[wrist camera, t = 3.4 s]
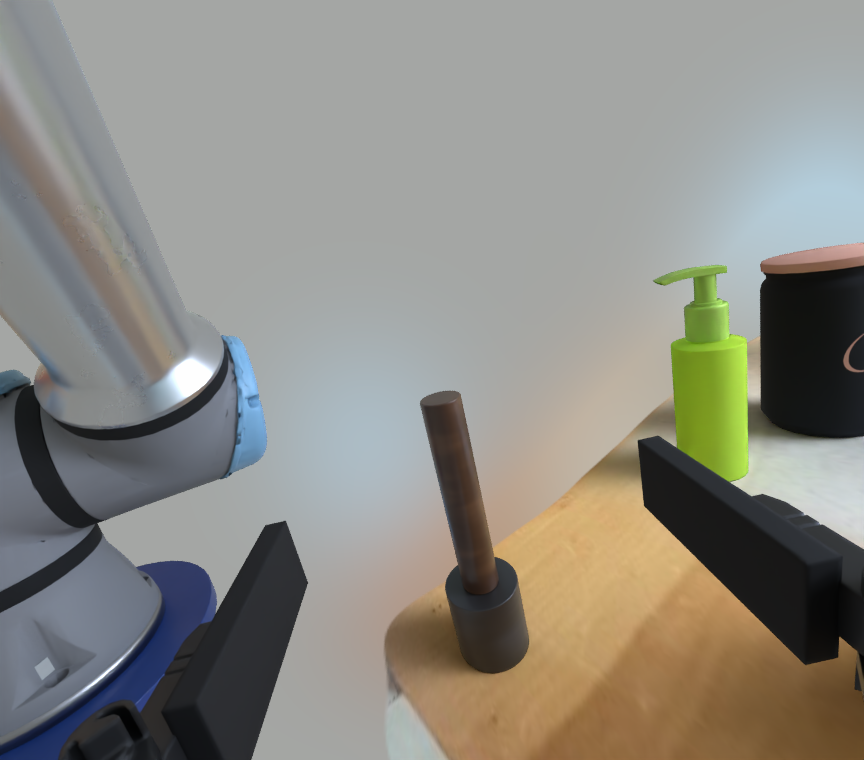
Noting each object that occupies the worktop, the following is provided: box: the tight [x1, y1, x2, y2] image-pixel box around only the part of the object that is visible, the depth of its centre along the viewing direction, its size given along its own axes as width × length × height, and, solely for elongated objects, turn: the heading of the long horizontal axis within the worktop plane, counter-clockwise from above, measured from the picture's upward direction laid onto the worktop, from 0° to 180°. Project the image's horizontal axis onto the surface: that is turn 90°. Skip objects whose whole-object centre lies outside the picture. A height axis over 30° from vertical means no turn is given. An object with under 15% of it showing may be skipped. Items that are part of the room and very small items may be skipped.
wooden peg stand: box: [420, 391, 529, 673], centre depth 26 cm, size 5×5×18 cm
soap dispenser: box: [654, 265, 748, 481], centre depth 40 cm, size 6×7×20 cm
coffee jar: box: [760, 243, 864, 437], centre depth 44 cm, size 11×11×18 cm
